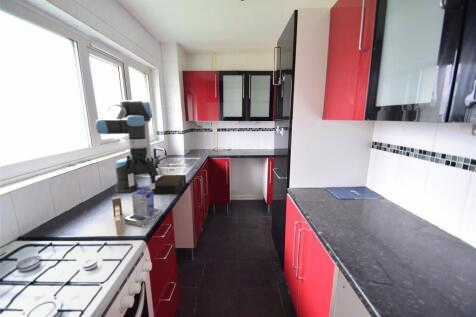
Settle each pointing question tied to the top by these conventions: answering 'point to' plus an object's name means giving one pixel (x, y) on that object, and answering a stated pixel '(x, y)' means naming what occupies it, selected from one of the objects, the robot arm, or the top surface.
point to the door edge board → (117, 213)
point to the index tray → (142, 218)
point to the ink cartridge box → (143, 202)
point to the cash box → (169, 184)
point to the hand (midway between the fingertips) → (142, 187)
